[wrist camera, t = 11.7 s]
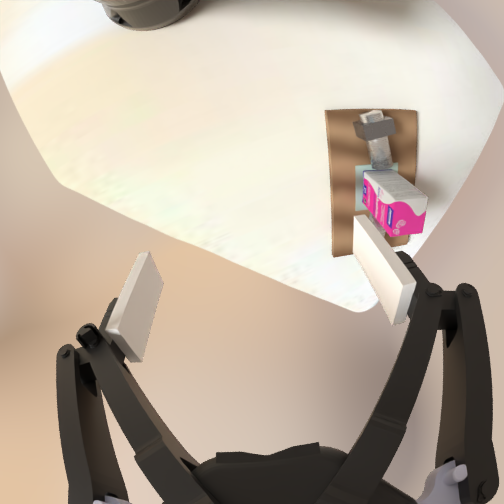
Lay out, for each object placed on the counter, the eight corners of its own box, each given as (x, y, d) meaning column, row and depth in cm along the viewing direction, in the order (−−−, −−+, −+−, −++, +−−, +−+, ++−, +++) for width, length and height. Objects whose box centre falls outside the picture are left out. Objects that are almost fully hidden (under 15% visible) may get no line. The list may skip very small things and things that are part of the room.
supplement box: (361, 170, 40) (395, 198, 30) (392, 168, 39) (431, 196, 30) (360, 203, 43) (390, 238, 33) (390, 200, 43) (424, 233, 33)
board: (324, 110, 36) (327, 111, 35) (412, 109, 35) (416, 111, 34) (331, 253, 50) (333, 258, 49) (404, 241, 49) (407, 244, 48)
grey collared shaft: (350, 115, 35) (360, 118, 32) (379, 108, 34) (391, 111, 31) (363, 166, 40) (373, 173, 36) (390, 158, 39) (401, 165, 35)
